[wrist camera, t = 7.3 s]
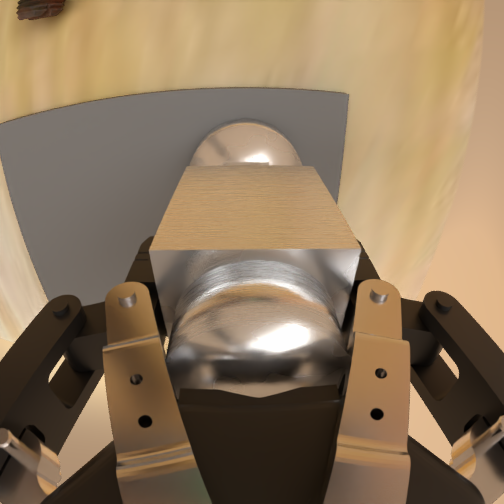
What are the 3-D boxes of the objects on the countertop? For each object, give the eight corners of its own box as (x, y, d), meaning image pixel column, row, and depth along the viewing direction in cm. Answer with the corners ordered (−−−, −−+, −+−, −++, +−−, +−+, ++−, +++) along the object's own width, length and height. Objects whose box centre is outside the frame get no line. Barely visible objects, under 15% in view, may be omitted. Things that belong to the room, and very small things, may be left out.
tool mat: (58, 309, 26) (55, 315, 26) (1, 123, 16) (-6, 126, 16) (314, 313, 27) (316, 320, 27) (344, 92, 17) (348, 94, 17)
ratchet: (205, 314, 26) (200, 365, 21) (189, 119, 17) (172, 141, 13) (284, 313, 26) (292, 364, 22) (300, 119, 17) (321, 141, 13)
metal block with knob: (196, 269, 15) (172, 427, 8) (186, 166, 12) (125, 309, 6) (302, 268, 15) (338, 423, 8) (313, 166, 12) (390, 305, 6)
